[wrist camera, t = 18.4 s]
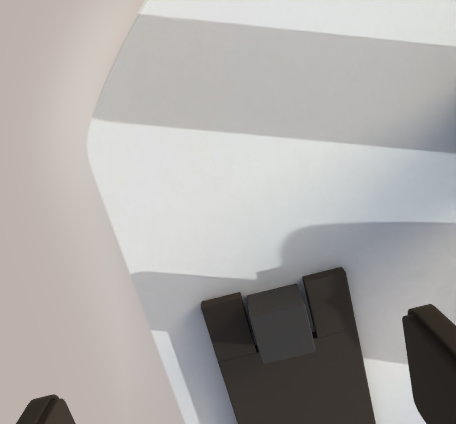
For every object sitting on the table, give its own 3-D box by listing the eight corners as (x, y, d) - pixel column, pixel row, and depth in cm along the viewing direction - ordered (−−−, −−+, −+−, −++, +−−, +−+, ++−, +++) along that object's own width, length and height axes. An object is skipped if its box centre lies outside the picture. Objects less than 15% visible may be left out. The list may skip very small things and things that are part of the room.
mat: (271, 521, 44) (272, 532, 43) (201, 301, 37) (200, 307, 35) (387, 496, 43) (392, 507, 42) (341, 266, 36) (345, 271, 35)
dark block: (258, 338, 38) (262, 364, 34) (246, 295, 36) (249, 317, 33) (306, 327, 37) (316, 352, 34) (296, 283, 36) (304, 303, 32)
